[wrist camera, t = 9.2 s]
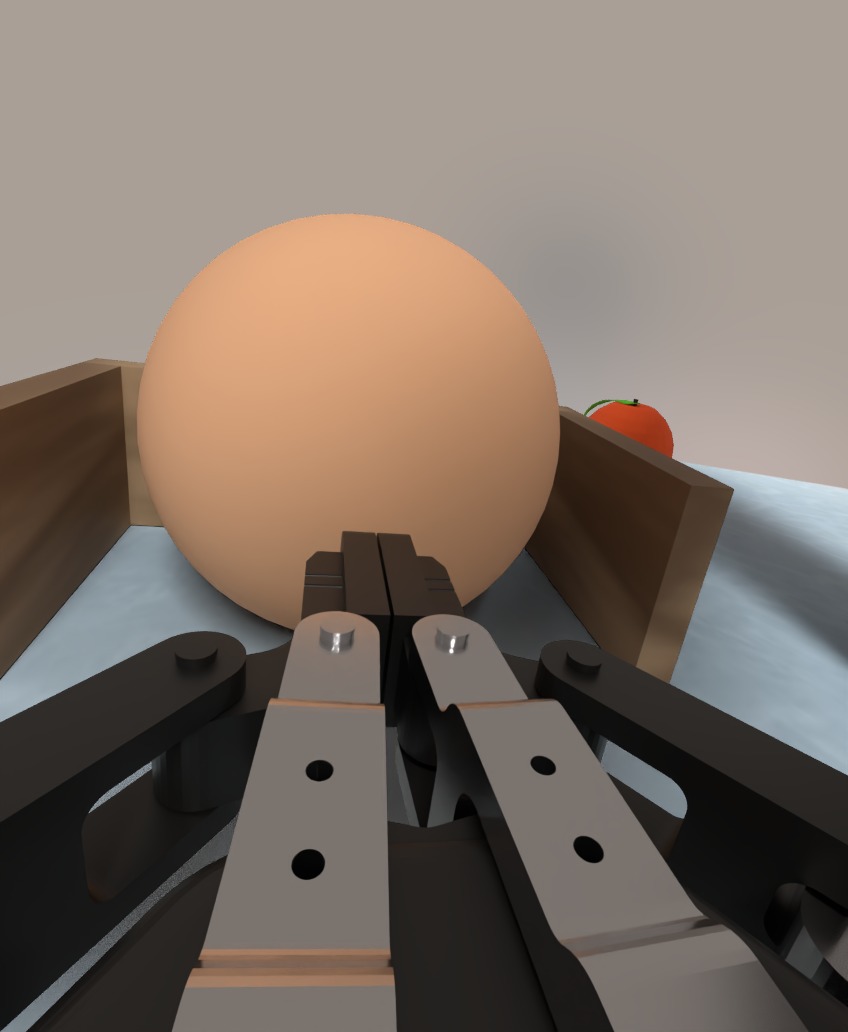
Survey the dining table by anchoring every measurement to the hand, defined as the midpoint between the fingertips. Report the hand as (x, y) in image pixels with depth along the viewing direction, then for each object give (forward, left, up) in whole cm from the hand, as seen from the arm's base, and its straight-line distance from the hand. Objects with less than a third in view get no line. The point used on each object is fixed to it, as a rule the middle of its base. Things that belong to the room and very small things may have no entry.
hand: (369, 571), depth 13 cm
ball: (0, -8, +1) cm, 9 cm away
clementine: (-21, -28, -6) cm, 35 cm away
